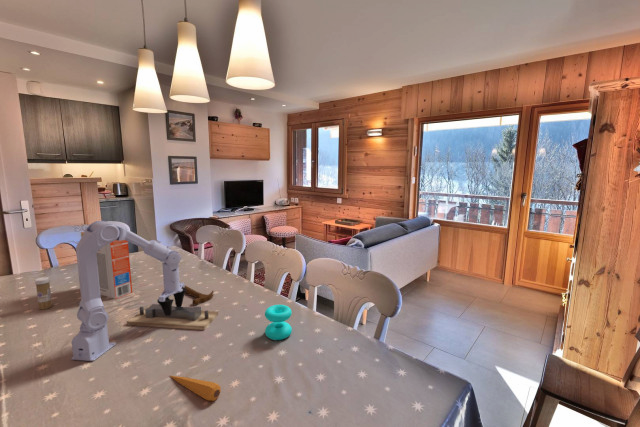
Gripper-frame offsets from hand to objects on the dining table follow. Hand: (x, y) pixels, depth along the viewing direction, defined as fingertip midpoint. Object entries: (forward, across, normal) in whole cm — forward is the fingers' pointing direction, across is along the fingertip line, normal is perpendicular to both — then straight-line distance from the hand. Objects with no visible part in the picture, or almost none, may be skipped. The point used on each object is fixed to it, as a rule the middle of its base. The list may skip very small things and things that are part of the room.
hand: (173, 310), depth 120 cm
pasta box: (+4, +22, +48) cm, 53 cm away
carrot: (+4, -35, -27) cm, 44 cm away
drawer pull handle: (+2, 0, 0) cm, 2 cm away
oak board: (+4, 0, 0) cm, 4 cm away
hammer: (+5, +26, +7) cm, 27 cm away
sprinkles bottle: (+4, +4, +62) cm, 62 cm away
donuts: (+4, -6, -45) cm, 46 cm away
